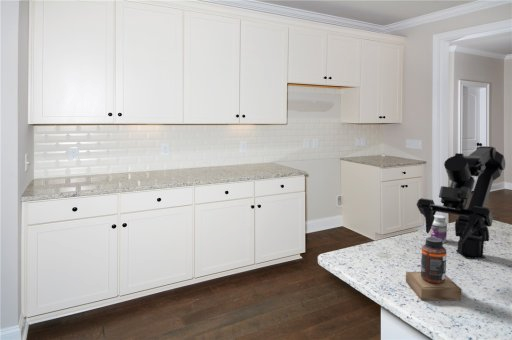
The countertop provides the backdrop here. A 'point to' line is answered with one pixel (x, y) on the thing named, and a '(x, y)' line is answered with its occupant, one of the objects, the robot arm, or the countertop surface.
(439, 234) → the pill bottle
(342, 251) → the countertop surface
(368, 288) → the countertop surface
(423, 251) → the supplement bottle
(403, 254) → the countertop surface
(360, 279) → the countertop surface
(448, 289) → the walnut plinth
